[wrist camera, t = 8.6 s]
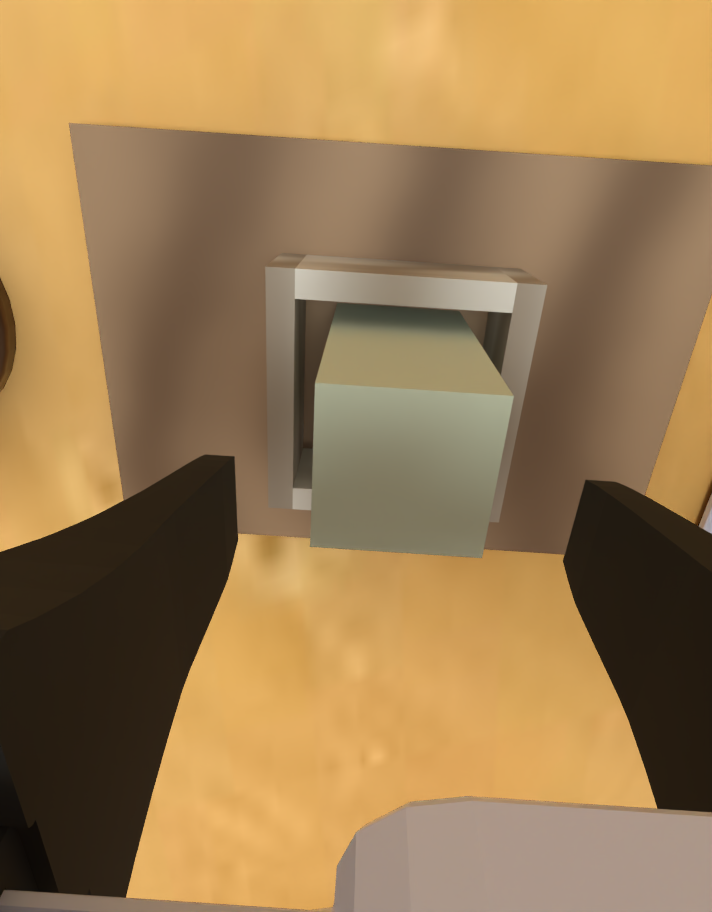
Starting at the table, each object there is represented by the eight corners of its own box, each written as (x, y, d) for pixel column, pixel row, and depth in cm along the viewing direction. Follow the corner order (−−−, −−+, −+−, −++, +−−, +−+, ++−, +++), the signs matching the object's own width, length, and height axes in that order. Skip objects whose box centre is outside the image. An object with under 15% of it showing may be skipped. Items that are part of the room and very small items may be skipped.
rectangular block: (459, 310, 18) (513, 396, 11) (443, 423, 20) (482, 558, 13) (337, 302, 18) (314, 382, 11) (332, 415, 20) (310, 546, 13)
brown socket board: (733, 168, 17) (828, 166, 14) (613, 543, 24) (657, 609, 20) (84, 125, 17) (9, 112, 14) (137, 512, 23) (94, 573, 20)
